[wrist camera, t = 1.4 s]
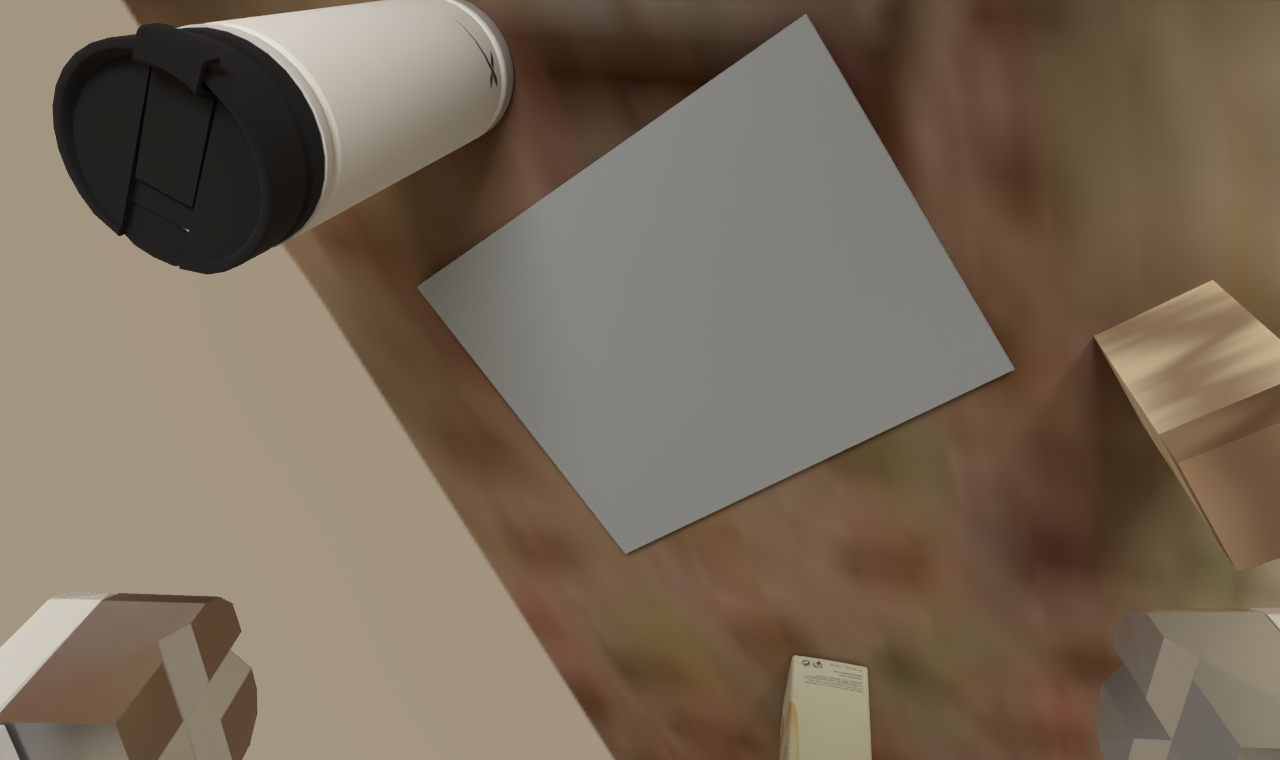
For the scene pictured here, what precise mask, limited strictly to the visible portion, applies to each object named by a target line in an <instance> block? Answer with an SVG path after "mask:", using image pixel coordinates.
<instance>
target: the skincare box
mask: <svg viewBox="0 0 1280 760" xmlns="http://www.w3.org/2000/svg"><path fill="white" fill-rule="evenodd" d="M778 760H872V755H871V731H870V710H869V687H868V669H867V668H866V667H863V666H857V665H852V664H847V663H841V662H836V661H830V660H824V659H817V658H811V657H804V656H797V655H794V656H793V657H792V660H791V664H790V669H789V674H788V679H787V684H786V690H785V696H784V703H783V712H782V721H781V731H780V746H779V759H778Z"/></svg>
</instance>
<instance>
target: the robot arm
mask: <svg viewBox="0 0 1280 760" xmlns="http://www.w3.org/2000/svg"><path fill="white" fill-rule="evenodd" d="M240 633H241V629H240V625H239V622H238V619H237V616H236V613H235V610H234V607H233V604H232V603H231V602H229V601H227V600H225V599H223V598H221V597H212V596H184V595H156V594H128V593H119V594H107V593H105V594H104V593H103V594H102V593H73V592H68V593H65V594H62V595H59V596H56V597H54V598H51V599H49V600H48V601H47V602H46V603H45V604H44V605H43V606H42V607H41V608H40V609H39V610H38V611H37V612H36V613H35V614H34V615H33V616H32V617H31V618H30V619H29V620H28V621H27V622H26V623H25V624H24V625H23V626H22V627H21V628H20V629H19V630H18V631H17V632H16V633H15V634H14V635H13V636H12V637H11V638H10V639H9V640H8V641H7V642H6V643H5V644H4V645H3V646H2V647H1V648H0V760H242V758H243V757H244V755H245V752H246V751H247V749H248V747H249V745H250V741H251V737H252V733H253V729H254V724H255V720H256V716H257V688H256V684H255V680H254V676H253V672H252V668H251V667H250V666H248V665H247V664H246V663H245V662H244V661H243V660H242V659H241V658H240V657H239V656H237V655H236V654H235V653H234V652H233V651H232V650H231V648H232V646H233V644H234V643H235V641H236V639H237V638H238V636H239V635H240ZM1113 645H1114V647H1115V648H1116V650H1117V652H1118V653H1119V655H1120V657H1121V658H1122V660H1123V662H1124V663H1125V665H1123V666H1122V667H1121V668H1120V669H1119V670H1117V671H1116V672H1115V673H1114V674H1113V675H1111V676H1110V677H1109V678H1108V679H1107V680H1106V681H1104V682H1103V685H1102V690H1101V694H1100V699H1099V704H1098V709H1097V720H1098V733H1099V743H1100V747H1101V750H1102V753H1103V757H1104V760H1280V608H1249V609H1247V610H1235V609H1129V610H1128V611H1127V612H1126V614H1125V615H1124V616H1123V618H1122V619H1121V620H1120V621H1119V625H1118V628H1117V632H1116V635H1115V639H1114V642H1113Z"/></svg>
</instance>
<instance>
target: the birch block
mask: <svg viewBox="0 0 1280 760" xmlns="http://www.w3.org/2000/svg"><path fill="white" fill-rule="evenodd" d="M1094 338H1095V339H1096V341H1097V343H1098V345H1099V347H1100V348H1101V350H1102V352H1103V354H1104V356H1105V358H1106V359H1107V361H1108V363H1109V365H1110V367H1111V368H1112V370H1113V372H1114V374H1115V376H1116V377H1117V379H1118V381H1119V383H1120V385H1121V387H1122V388H1123V390H1124V392H1125V394H1126V396H1127V397H1128V399H1129V401H1130V403H1131V405H1132V406H1133V408H1134V410H1135V412H1136V414H1137V416H1138V417H1139V419H1140V421H1141V423H1142V424H1143V426H1144V427H1145V429H1146V431H1147V432H1148V434H1149V435H1150V437H1151V438H1152V440H1153V442H1154V443H1155V445H1156V446H1157V448H1158V449H1159V451H1160V452H1161V454H1162V456H1163V457H1164V459H1165V460H1166V462H1167V463H1168V465H1169V466H1170V468H1171V470H1172V471H1173V473H1174V474H1175V476H1176V477H1177V479H1178V480H1179V482H1180V484H1181V485H1182V487H1183V488H1184V490H1185V491H1186V493H1187V494H1188V496H1189V498H1190V499H1191V501H1192V502H1193V504H1194V505H1195V507H1196V509H1197V510H1198V512H1199V513H1200V515H1201V516H1202V518H1203V519H1204V521H1205V523H1206V524H1207V526H1208V527H1209V529H1210V530H1211V532H1212V533H1213V535H1214V537H1215V538H1216V540H1217V541H1218V543H1219V544H1220V546H1221V547H1222V549H1223V551H1224V552H1225V554H1226V555H1227V557H1228V558H1229V560H1230V561H1231V563H1232V565H1233V566H1234V568H1235V569H1236V571H1237V572H1240V571H1243V570H1246V569H1248V568H1251V567H1254V566H1257V565H1260V564H1263V563H1266V562H1269V561H1271V560H1274V559H1277V558H1280V339H1279V338H1278V337H1276V336H1275V335H1274V334H1273V333H1272V332H1271V331H1270V330H1269V329H1267V328H1266V327H1265V326H1264V325H1263V324H1262V323H1261V322H1260V321H1258V320H1257V319H1256V318H1255V317H1254V316H1253V315H1252V314H1251V313H1249V312H1248V311H1247V310H1246V309H1245V308H1244V307H1243V306H1242V305H1240V304H1239V303H1238V302H1237V301H1236V300H1235V299H1234V298H1233V297H1231V296H1230V295H1229V294H1228V293H1227V292H1226V291H1225V290H1224V289H1222V288H1221V287H1220V286H1219V285H1218V284H1217V283H1216V282H1215V281H1213V280H1211V281H1209V282H1207V283H1205V284H1203V285H1201V286H1198V287H1196V288H1194V289H1192V290H1190V291H1188V292H1186V293H1184V294H1182V295H1179V296H1177V297H1175V298H1173V299H1171V300H1169V301H1167V302H1165V303H1162V304H1160V305H1158V306H1156V307H1154V308H1152V309H1150V310H1148V311H1146V312H1143V313H1141V314H1139V315H1137V316H1135V317H1133V318H1131V319H1129V320H1127V321H1124V322H1122V323H1120V324H1118V325H1116V326H1114V327H1112V328H1110V329H1107V330H1105V331H1103V332H1101V333H1099V334H1097V335H1095V336H1094Z"/></svg>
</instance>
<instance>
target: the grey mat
mask: <svg viewBox="0 0 1280 760" xmlns="http://www.w3.org/2000/svg"><path fill="white" fill-rule="evenodd" d="M417 288H418V289H419V291H420V292H421V293H422V295H423V296H424V297H425V298H426V300H427V301H428V302H429V303H430V305H431V306H432V307H433V309H434V310H435V311H436V312H437V314H438V315H439V316H440V318H441V319H442V320H443V321H444V323H445V324H446V325H447V326H448V328H449V329H450V330H451V332H452V333H453V334H454V335H455V337H456V338H457V339H458V341H459V342H460V343H461V344H462V346H463V347H464V348H465V350H466V351H467V352H468V353H469V355H470V356H471V357H472V358H473V360H474V361H475V362H476V364H477V365H478V366H479V367H480V369H481V370H482V371H483V373H484V374H485V375H486V376H487V378H488V379H489V380H490V381H491V383H492V384H493V385H494V387H495V388H496V389H497V390H498V392H499V393H500V394H501V396H502V397H503V398H504V399H505V401H506V402H507V403H508V405H509V406H510V407H511V408H512V410H513V411H514V412H515V413H516V415H517V416H518V417H519V419H520V420H521V421H522V422H523V424H524V425H525V426H526V428H527V429H528V430H529V431H530V433H531V434H532V435H533V436H534V438H535V439H536V440H537V442H538V443H539V444H540V445H541V447H542V448H543V449H544V451H545V452H546V453H547V454H548V456H549V457H550V458H551V459H552V461H553V462H554V463H555V465H556V466H557V467H558V468H559V470H560V471H561V472H562V474H563V475H564V476H565V477H566V479H567V480H568V481H569V483H570V484H571V485H572V486H573V488H574V489H575V490H576V491H577V493H578V494H579V495H580V497H581V498H582V499H583V500H584V502H585V503H586V504H587V506H588V507H589V508H590V509H591V511H592V512H593V513H594V514H595V516H596V517H597V518H598V520H599V521H600V522H601V523H602V525H603V526H604V527H605V529H606V530H607V531H608V532H609V534H610V535H611V536H612V538H613V539H614V540H615V541H616V543H617V544H618V545H619V546H620V548H621V549H622V550H623V552H624V553H625V554H627V553H629V552H631V551H633V550H635V549H637V548H639V547H641V546H644V545H646V544H648V543H650V542H652V541H654V540H656V539H658V538H660V537H663V536H665V535H667V534H669V533H671V532H673V531H675V530H677V529H679V528H681V527H684V526H686V525H688V524H690V523H692V522H694V521H696V520H698V519H700V518H703V517H705V516H707V515H709V514H711V513H713V512H715V511H717V510H719V509H722V508H724V507H726V506H728V505H730V504H732V503H734V502H736V501H738V500H740V499H743V498H745V497H747V496H749V495H751V494H753V493H755V492H757V491H759V490H762V489H764V488H766V487H768V486H770V485H772V484H774V483H776V482H778V481H781V480H783V479H785V478H787V477H789V476H791V475H793V474H795V473H797V472H799V471H802V470H804V469H806V468H808V467H810V466H812V465H814V464H816V463H818V462H821V461H823V460H825V459H827V458H829V457H831V456H833V455H835V454H837V453H840V452H842V451H844V450H846V449H848V448H850V447H852V446H854V445H856V444H859V443H861V442H863V441H865V440H867V439H869V438H871V437H873V436H875V435H877V434H880V433H882V432H884V431H886V430H888V429H890V428H892V427H894V426H896V425H899V424H901V423H903V422H905V421H907V420H909V419H911V418H913V417H915V416H918V415H920V414H922V413H924V412H926V411H928V410H930V409H932V408H934V407H936V406H939V405H941V404H943V403H945V402H947V401H949V400H951V399H953V398H955V397H958V396H960V395H962V394H964V393H966V392H968V391H970V390H972V389H974V388H977V387H979V386H981V385H983V384H985V383H987V382H989V381H991V380H993V379H995V378H998V377H1000V376H1002V375H1004V374H1006V373H1008V372H1010V371H1012V370H1014V367H1013V365H1012V363H1011V361H1010V359H1009V358H1008V356H1007V354H1006V352H1005V351H1004V349H1003V347H1002V346H1001V344H1000V342H999V341H998V339H997V337H996V335H995V334H994V332H993V330H992V329H991V327H990V325H989V324H988V322H987V320H986V318H985V317H984V315H983V313H982V312H981V310H980V308H979V307H978V305H977V303H976V301H975V300H974V298H973V296H972V295H971V293H970V291H969V289H968V288H967V286H966V284H965V283H964V281H963V279H962V278H961V276H960V274H959V272H958V271H957V269H956V267H955V266H954V264H953V262H952V261H951V259H950V257H949V255H948V254H947V252H946V250H945V249H944V247H943V245H942V243H941V242H940V240H939V238H938V237H937V235H936V233H935V232H934V230H933V228H932V226H931V225H930V223H929V221H928V220H927V218H926V216H925V215H924V213H923V211H922V209H921V208H920V206H919V204H918V203H917V201H916V199H915V198H914V196H913V194H912V192H911V191H910V189H909V187H908V186H907V184H906V182H905V180H904V179H903V177H902V175H901V174H900V172H899V170H898V169H897V167H896V165H895V163H894V162H893V160H892V158H891V157H890V155H889V153H888V152H887V150H886V148H885V146H884V145H883V143H882V141H881V140H880V138H879V136H878V134H877V133H876V131H875V129H874V128H873V126H872V124H871V123H870V121H869V119H868V117H867V116H866V114H865V112H864V111H863V109H862V107H861V106H860V104H859V102H858V100H857V99H856V97H855V95H854V94H853V92H852V90H851V88H850V87H849V85H848V83H847V82H846V80H845V78H844V77H843V75H842V73H841V71H840V70H839V68H838V66H837V65H836V63H835V61H834V60H833V58H832V56H831V54H830V53H829V51H828V49H827V48H826V46H825V44H824V43H823V41H822V39H821V37H820V36H819V34H818V32H817V31H816V29H815V27H814V25H813V24H812V22H811V20H810V19H809V17H808V15H807V14H804V15H803V16H802V17H800V18H799V19H797V20H796V21H794V22H793V23H792V24H790V25H789V26H787V27H786V28H784V29H783V30H782V31H780V32H779V33H777V34H776V35H774V36H773V37H772V38H770V39H769V40H767V41H766V42H764V43H763V44H762V45H760V46H759V47H757V48H756V49H755V50H753V51H752V52H750V53H749V54H747V55H746V56H745V57H743V58H742V59H740V60H739V61H737V62H736V63H735V64H733V65H732V66H730V67H729V68H727V69H726V70H725V71H723V72H722V73H720V74H719V75H717V76H716V77H715V78H713V79H712V80H710V81H709V82H707V83H706V84H705V85H703V86H702V87H700V88H699V89H698V90H696V91H695V92H693V93H692V94H690V95H689V96H688V97H686V98H685V99H683V100H682V101H680V102H679V103H678V104H676V105H675V106H673V107H672V108H670V109H669V110H668V111H666V112H665V113H663V114H662V115H660V116H659V117H658V118H656V119H655V120H653V121H652V122H651V123H649V124H648V125H646V126H645V127H643V128H642V129H641V130H639V131H638V132H636V133H635V134H633V135H632V136H631V137H629V138H628V139H626V140H625V141H623V142H622V143H621V144H619V145H618V146H616V147H615V148H613V149H612V150H611V151H609V152H608V153H606V154H605V155H603V156H602V157H601V158H599V159H598V160H596V161H595V162H594V163H592V164H591V165H589V166H588V167H586V168H585V169H584V170H582V171H581V172H579V173H578V174H576V175H575V176H574V177H572V178H571V179H569V180H568V181H566V182H565V183H564V184H562V185H561V186H559V187H558V188H556V189H555V190H554V191H552V192H551V193H549V194H548V195H546V196H545V197H544V198H542V199H541V200H539V201H538V202H537V203H535V204H534V205H532V206H531V207H529V208H528V209H527V210H525V211H524V212H522V213H521V214H519V215H518V216H517V217H515V218H514V219H512V220H511V221H509V222H508V223H507V224H505V225H504V226H502V227H501V228H499V229H498V230H497V231H495V232H494V233H492V234H491V235H490V236H488V237H487V238H485V239H484V240H482V241H481V242H480V243H478V244H477V245H475V246H474V247H472V248H471V249H470V250H468V251H467V252H465V253H464V254H462V255H461V256H460V257H458V258H457V259H455V260H454V261H452V262H451V263H450V264H448V265H447V266H445V267H444V268H442V269H441V270H440V271H438V272H437V273H435V274H434V275H433V276H431V277H430V278H428V279H427V280H425V281H424V282H423V283H421V284H420V285H419V286H418V287H417Z"/></svg>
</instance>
